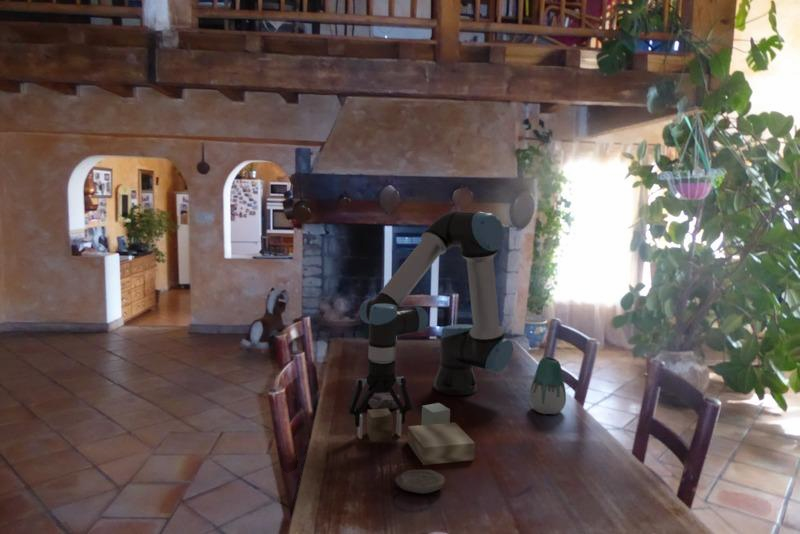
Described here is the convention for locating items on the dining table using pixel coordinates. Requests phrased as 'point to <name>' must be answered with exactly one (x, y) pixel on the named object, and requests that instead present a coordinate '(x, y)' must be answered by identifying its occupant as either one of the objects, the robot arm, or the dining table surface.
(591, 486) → the dining table surface
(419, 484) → the fossil
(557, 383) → the vase
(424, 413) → the grey green cube
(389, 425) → the walnut block
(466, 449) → the plinth
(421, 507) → the dining table surface
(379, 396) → the rock
